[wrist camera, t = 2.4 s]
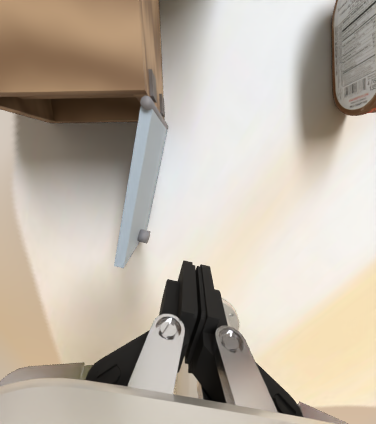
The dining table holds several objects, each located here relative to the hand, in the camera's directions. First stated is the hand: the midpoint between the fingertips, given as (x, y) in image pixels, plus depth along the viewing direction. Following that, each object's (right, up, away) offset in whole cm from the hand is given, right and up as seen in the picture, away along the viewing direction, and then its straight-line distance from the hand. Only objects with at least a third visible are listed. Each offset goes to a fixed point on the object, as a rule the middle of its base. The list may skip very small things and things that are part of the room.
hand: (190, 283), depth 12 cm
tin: (+19, +24, +13) cm, 34 cm away
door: (-5, +9, +16) cm, 19 cm away
